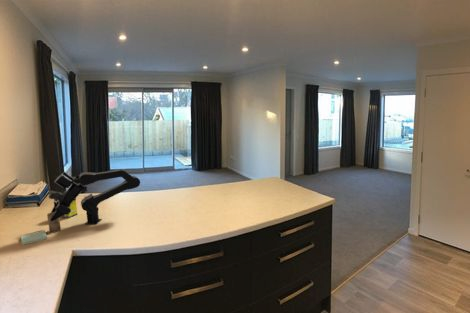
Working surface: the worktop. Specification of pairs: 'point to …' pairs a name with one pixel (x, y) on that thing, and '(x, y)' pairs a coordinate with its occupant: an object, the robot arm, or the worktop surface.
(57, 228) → the walnut canister
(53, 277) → the worktop surface
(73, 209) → the supplement box
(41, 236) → the sage green board
